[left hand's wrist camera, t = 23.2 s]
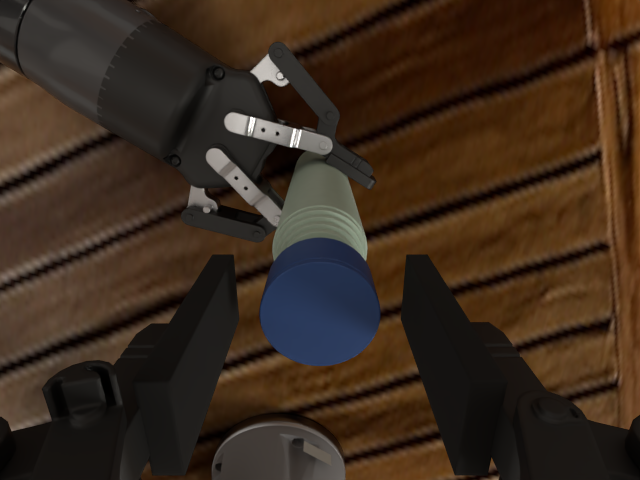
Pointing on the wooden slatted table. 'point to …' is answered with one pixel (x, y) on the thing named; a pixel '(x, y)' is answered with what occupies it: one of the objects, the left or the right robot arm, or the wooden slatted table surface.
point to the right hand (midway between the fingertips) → (351, 210)
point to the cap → (319, 303)
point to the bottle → (319, 207)
